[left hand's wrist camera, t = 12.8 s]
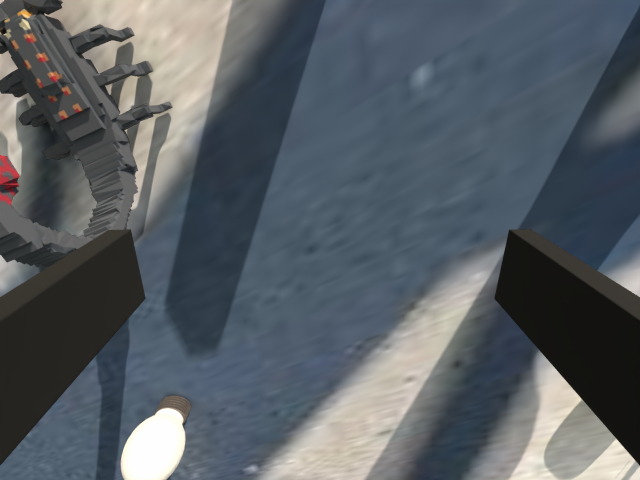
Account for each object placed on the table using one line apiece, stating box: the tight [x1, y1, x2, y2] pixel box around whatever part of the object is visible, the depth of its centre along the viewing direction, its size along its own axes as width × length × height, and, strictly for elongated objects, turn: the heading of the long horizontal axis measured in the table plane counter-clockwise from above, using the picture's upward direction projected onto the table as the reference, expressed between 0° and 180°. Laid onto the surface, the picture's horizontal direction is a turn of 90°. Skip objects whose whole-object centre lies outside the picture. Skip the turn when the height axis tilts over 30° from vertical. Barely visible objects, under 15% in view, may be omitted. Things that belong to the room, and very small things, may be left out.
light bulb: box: [121, 396, 191, 480], centre depth 44 cm, size 7×7×11 cm
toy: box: [0, 0, 172, 267], centre depth 26 cm, size 13×27×18 cm, turn 22°
